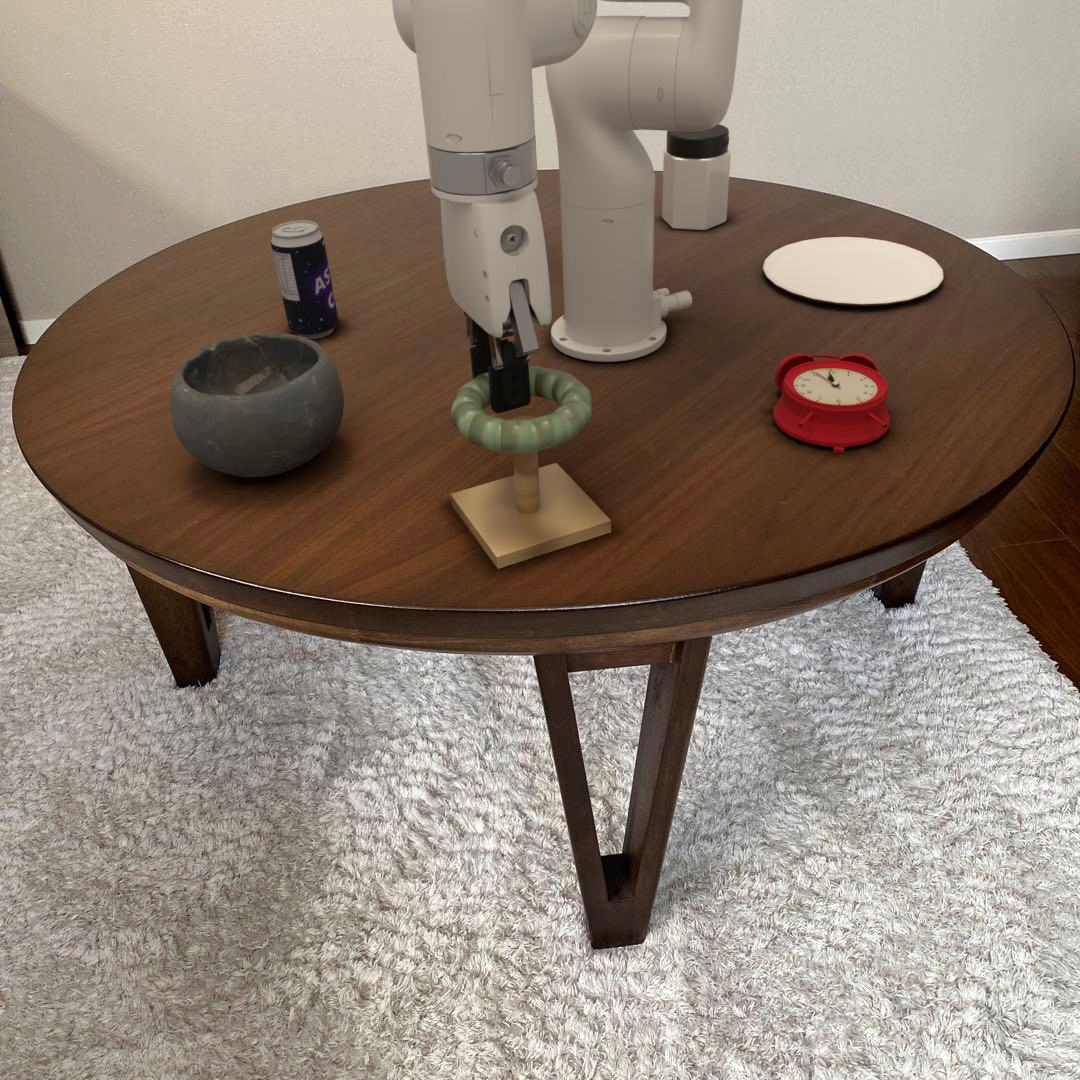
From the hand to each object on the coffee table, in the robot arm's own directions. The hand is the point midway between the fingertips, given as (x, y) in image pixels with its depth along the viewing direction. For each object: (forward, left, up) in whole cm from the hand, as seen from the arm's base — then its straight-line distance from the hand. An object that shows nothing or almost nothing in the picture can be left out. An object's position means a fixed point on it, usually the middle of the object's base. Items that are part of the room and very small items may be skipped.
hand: (502, 396), depth 81 cm
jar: (-50, -50, -9) cm, 71 cm away
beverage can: (+6, -42, -9) cm, 43 cm away
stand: (0, +4, -9) cm, 10 cm away
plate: (-55, -23, -9) cm, 60 cm away
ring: (0, +4, +1) cm, 4 cm away
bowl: (+17, -16, -9) cm, 25 cm away
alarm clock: (-32, +2, -9) cm, 33 cm away
